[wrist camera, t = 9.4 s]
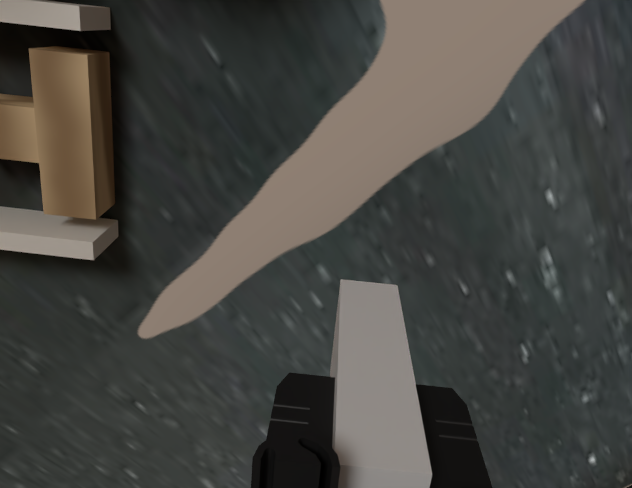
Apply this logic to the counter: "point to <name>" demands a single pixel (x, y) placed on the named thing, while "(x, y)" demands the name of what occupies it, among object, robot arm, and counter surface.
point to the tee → (65, 130)
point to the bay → (36, 227)
